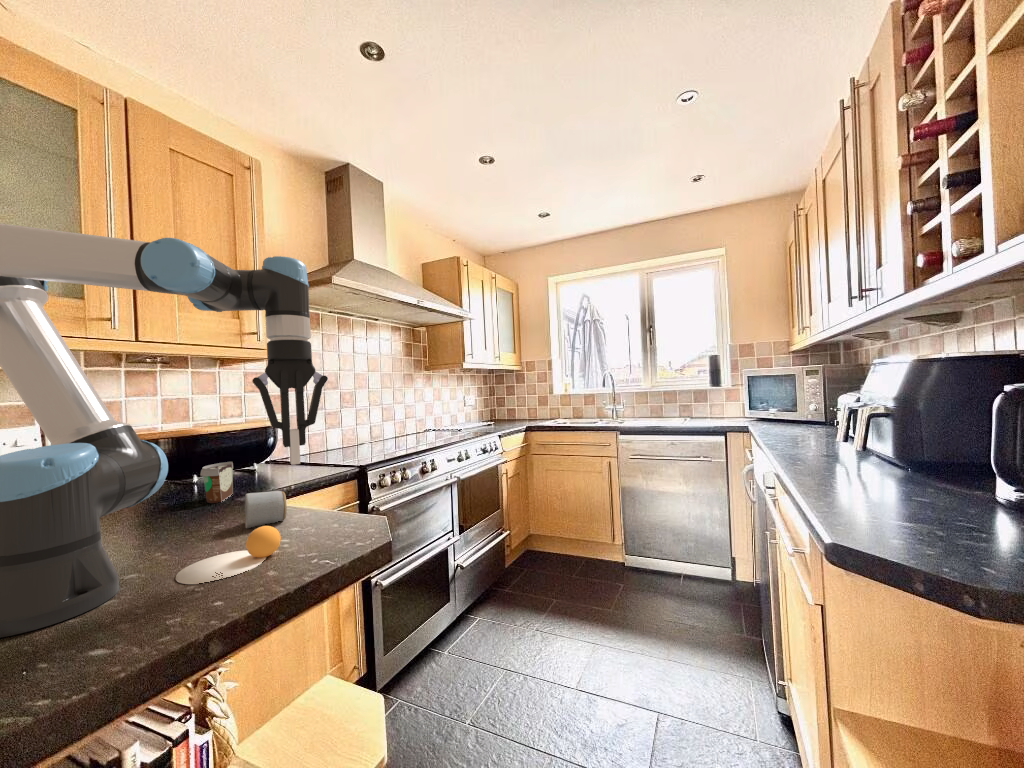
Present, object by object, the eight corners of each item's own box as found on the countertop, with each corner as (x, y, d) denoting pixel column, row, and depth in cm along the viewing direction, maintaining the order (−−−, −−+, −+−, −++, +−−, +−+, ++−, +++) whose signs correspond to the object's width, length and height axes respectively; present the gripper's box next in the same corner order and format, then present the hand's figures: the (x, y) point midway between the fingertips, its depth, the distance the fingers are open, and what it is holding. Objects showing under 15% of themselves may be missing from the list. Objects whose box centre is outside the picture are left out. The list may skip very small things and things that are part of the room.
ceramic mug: (288, 523, 95) (286, 490, 95) (246, 532, 90) (244, 497, 91) (282, 514, 104) (280, 483, 104) (243, 521, 99) (242, 489, 99)
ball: (288, 538, 76) (265, 566, 73) (286, 533, 81) (265, 559, 78) (262, 522, 74) (237, 550, 72) (262, 518, 79) (239, 544, 76)
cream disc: (170, 592, 64) (170, 591, 64) (180, 564, 74) (180, 563, 74) (267, 568, 71) (267, 567, 71) (264, 545, 82) (264, 544, 82)
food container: (211, 496, 126) (209, 463, 126) (234, 493, 128) (233, 461, 128) (193, 506, 115) (192, 470, 115) (219, 503, 117) (217, 468, 117)
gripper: (323, 343, 86) (328, 456, 86) (248, 342, 79) (254, 465, 79) (329, 338, 80) (335, 460, 80) (249, 337, 72) (255, 471, 72)
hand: (295, 463), depth 79 cm, fingers closed
